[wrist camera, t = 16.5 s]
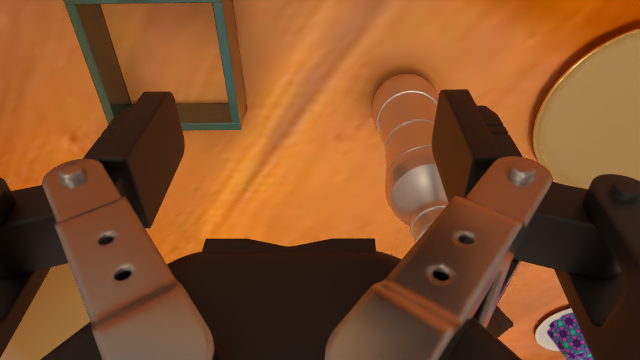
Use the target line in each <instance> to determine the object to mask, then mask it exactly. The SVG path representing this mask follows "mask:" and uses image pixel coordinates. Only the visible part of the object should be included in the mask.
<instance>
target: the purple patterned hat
mask: <svg viewBox="0 0 640 360" xmlns="http://www.w3.org/2000/svg"><path fill="white" fill-rule="evenodd" d="M535 339H536V341H537V343H538V344H539V345H540V346H542V347H544V348H546V349H549V350H553V351H561V353H562V354H563V355H564V356H565V358H566V359H567V360H594V359H593V357H592V354H591V352H590V350H589V348H588V345H587V343H586V341H585V338H584V336H583V334H582V332H581V329H580V327H579V325H578V322H577V320H576V318H575V316H574V313H573V311H572V309H571V308H570V309H566V310H563V311H561V312H558V313H556V314H554V315H552V316H550V317H549V318H547V319H546V320H544V321H543V322H542V323H541V324H540V325H539V327H538V328H537V330H536V333H535Z"/></svg>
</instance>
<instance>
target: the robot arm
mask: <svg viewBox="0 0 640 360" xmlns="http://www.w3.org/2000/svg"><path fill="white" fill-rule="evenodd" d="M184 146H185V144H184V135H183V131H182V127H181V123H180V119H179V115H178V111H177V107H176V103H175V99H174V96H173V94H172V93H171V92H144V93H143V94H142V95H141V97H140V98H139V99H138V101H137V102H136V104H135V105H134V106H133V108H127V109H126V110H124V111H123V112H121V113H120V114H118V115H117V116H115V117H114V118H113V120H112V121H111V122H110V124H109V125H108V126H107V129H105V130H104V131H103V133H102V134H101V137H99V138H98V139H97V141H96V142H95V143H94V145H93V146H92V147H91V149H90V150H89V151H88V153H87V154H86V155H85V157H84V158H83V159H77V160H72V161H69V162H66V163H63V164H61V165H59V166H57V167H55V168H53V169H52V170H51V171H49V172H48V173H47V174H46V175H45V177H44V179H43V181H42V185H40V186H36V187H31V188H26V189H20V190H15V191H11V190H10V189H9V187H8V185H7V183H6V182H5V180H4V179H2V178H0V357H1V355H2V354H3V352H4V350H5V348H6V347H7V345H8V343H9V341H10V340H11V338H12V336H13V334H14V332H15V331H16V329H17V327H18V325H19V324H20V322H21V320H22V318H23V316H24V315H25V312H26V310H27V309H28V307H29V306H30V304H31V302H32V300H33V299H34V297H35V295H36V293H37V291H38V290H39V288H40V286H41V284H42V283H43V281H44V279H45V277H46V275H47V274H48V272H49V270H50V268H51V267H53V266H58V265H61V264H66V263H69V265H70V268H71V270H72V273H73V276H74V278H75V281H76V284H77V286H78V289H79V292H80V294H81V297H82V300H83V302H84V305H85V308H86V310H87V313H88V316H89V318H90V321H91V322H89V323H88V324H87V325H85V326H84V327H83V328H81V329H80V330H79V331H78V332H76V333H75V334H74V335H72V336H71V337H70V338H68V339H67V340H66V341H64V342H63V343H62V344H60V345H59V346H58V347H56V348H55V349H54V350H53V351H51V352H50V353H48V354H47V355H46V356H45V357H43V358H42V359H41V360H522V359H520V358H519V357H518V356H517V355H516V354H515V353H514V352H512V351H511V350H510V349H509V348H508V347H507V346H506V345H504V344H503V343H502V342H501V341H500V340H499V339H498V338H496V337H495V336H494V335H493V334H492V333H491V332H490V331H488V330H487V329H486V327H487V325H488V323H489V321H490V318H491V316H492V314H493V312H494V310H495V308H496V306H497V304H498V303H499V301H500V299H501V297H502V295H503V294H504V292H505V290H506V288H507V286H508V285H509V283H510V281H511V279H512V277H513V276H514V274H515V272H516V270H517V268H518V267H519V265H520V263H521V261H524V262H528V263H532V264H536V265H540V266H544V267H548V268H552V269H555V272H556V275H557V277H558V279H559V281H560V284H561V286H562V288H563V291H564V293H565V295H566V297H567V300H568V302H569V304H570V307H571V309H572V311H573V313H574V316H575V318H576V320H577V322H578V325H579V327H580V329H581V332H582V334H583V336H584V338H585V341H586V343H587V345H588V348H589V350H590V352H591V354H592V357H593V359H594V360H640V181H638V180H636V179H633V178H631V177H627V176H623V175H617V174H604V175H600V176H597V177H595V178H594V179H593V180H592V182H591V184H590V186H589V188H588V189H584V188H579V187H574V186H569V185H564V184H559V183H556V182H552V181H553V178H552V175H551V173H550V171H549V170H548V169H547V168H546V167H544V166H543V165H541V164H540V163H538V162H536V161H533V160H531V159H527V158H523V156H522V155H521V153H520V151H519V150H518V148H517V147H516V145H515V143H514V142H513V140H512V138H511V137H510V135H508V132H507V130H506V128H505V127H503V123H502V122H501V120H500V118H499V117H498V115H497V114H496V113H494V112H493V111H492V110H490V109H489V108H487V107H486V106H477V105H476V104H475V102H474V100H473V98H472V96H471V94H470V93H469V91H468V90H467V89H459V90H441V91H440V94H439V97H438V103H437V109H436V115H435V121H434V128H433V134H432V153H433V157H434V160H435V163H436V166H437V169H438V172H439V175H440V178H441V182H442V185H443V188H444V191H445V194H446V197H447V200H448V205H447V206H446V207H445V208H444V210H443V211H442V212H441V213H440V214H439V216H438V217H437V218H436V219H435V220H434V222H433V223H432V224H431V225H430V226H429V228H428V229H427V230H426V231H425V232H424V234H423V235H422V236H421V237H420V238H419V240H418V241H417V242H416V243H415V244H414V246H413V247H412V248H411V249H410V250H409V252H408V253H407V254H406V255H405V256H404V258H403V259H399V258H397V257H395V256H392V255H389V254H386V253H383V252H378V251H376V246H375V239H328V240H323V241H318V242H313V243H308V244H302V245H297V246H291V247H287V246H281V245H276V244H271V243H266V242H261V241H256V240H251V239H206V240H205V243H204V247H203V250H202V252H197V253H194V254H190V255H187V256H184V257H182V258H179V259H177V260H175V261H173V262H171V263H169V264H166V262H165V261H164V259H163V257H162V256H161V254H160V253H159V251H158V249H157V248H156V246H155V244H154V243H153V241H152V239H151V238H150V236H149V234H148V233H147V231H146V229H145V228H151V226H152V223H153V221H154V219H155V217H156V215H157V212H158V210H159V208H160V206H161V204H162V201H163V199H164V197H165V195H166V192H167V190H168V188H169V186H170V184H171V181H172V179H173V177H174V175H175V173H176V170H177V168H178V166H179V164H180V161H181V159H182V157H183V154H184Z"/></svg>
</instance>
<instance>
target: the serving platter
mask: <svg viewBox="0 0 640 360" xmlns="http://www.w3.org/2000/svg"><path fill="white" fill-rule="evenodd" d="M533 148H534V153H535V156H536V158H537V160H538V163H540V164H541V165H543V166H544V167H546V168H547V169H548V170H549V171H550V173H551V175H552V178H553V179H554V180H556V181H557V182H559V183H561V184H564V185H569V186H574V187H579V188H584V189H588V188H589V186H590V184H591V182H592V180H593V179H594V178H595V177H597V176H600V175H604V174H617V175H623V176H627V177H631V178H633V179H636V180H638V181H640V27H639V28H636V29H633V30H630V31H627V32H625V33H622V34H620V35H618V36H616V37H613V38H611V39H609V40H607V41H606V42H604V43H602V44H600V45H599V46H597V47H595V48H594V49H592V50H591V51H589V52H588V53H587V54H585V55H584V56H582V57H581V58H580V59H579V60H577V61H576V62H575V63H574V64H573V65H572V66H571V67H570V68H569V69H568V70H566V71H565V72H564V73H563V75H562V76H561V77H560V78H559V79H558V80H557V81H556V83H555V84H554V85H553V87H552V88H551V89H550V91H549V92H548V94H547V95H546V97H545V99H544V101H543V103H542V104H541V107H540V109H539V111H538V114H537V117H536V120H535V124H534V129H533Z"/></svg>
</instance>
